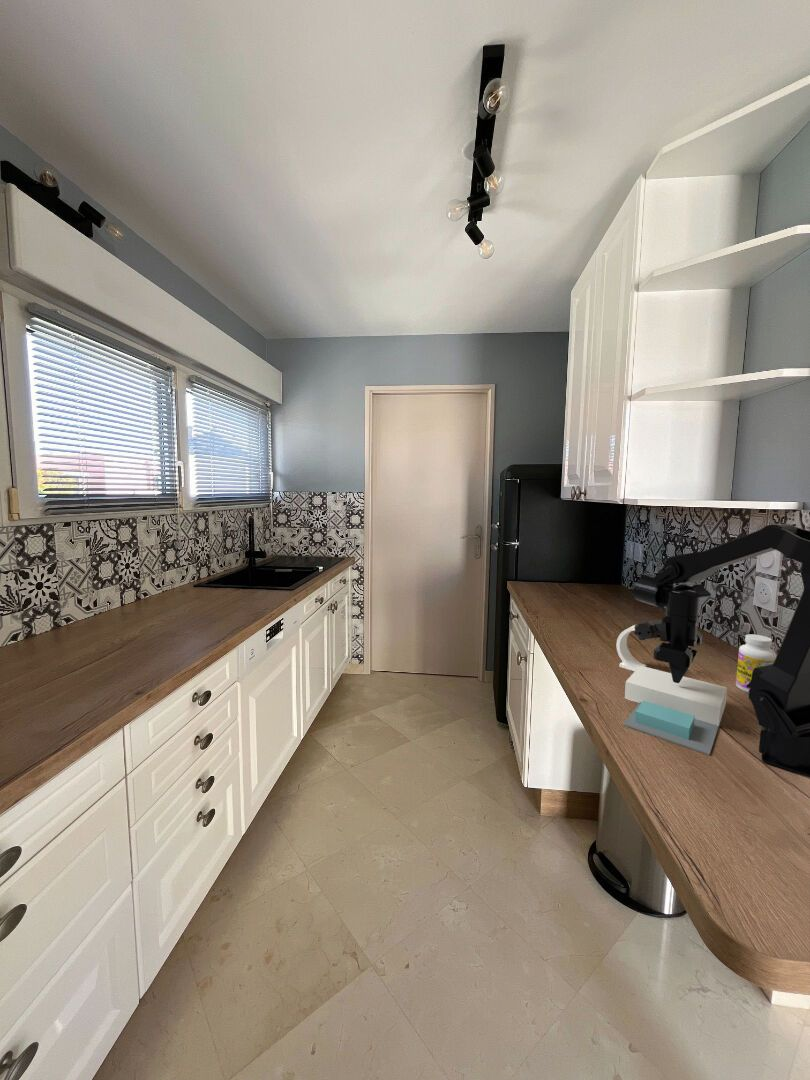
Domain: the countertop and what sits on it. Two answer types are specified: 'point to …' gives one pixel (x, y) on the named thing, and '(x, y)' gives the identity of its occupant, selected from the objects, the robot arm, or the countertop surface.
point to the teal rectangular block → (665, 719)
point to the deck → (677, 694)
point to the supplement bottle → (753, 658)
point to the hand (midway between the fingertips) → (676, 682)
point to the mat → (698, 739)
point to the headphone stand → (626, 652)
